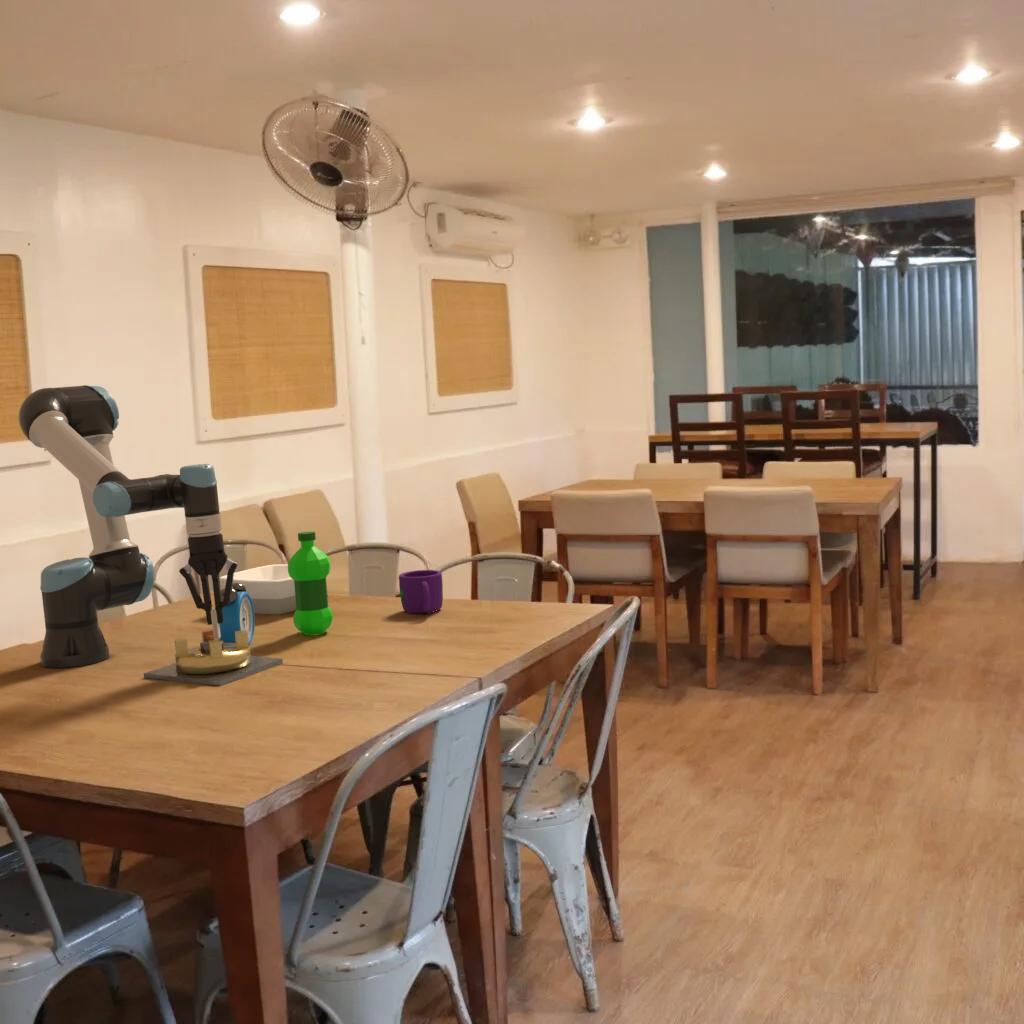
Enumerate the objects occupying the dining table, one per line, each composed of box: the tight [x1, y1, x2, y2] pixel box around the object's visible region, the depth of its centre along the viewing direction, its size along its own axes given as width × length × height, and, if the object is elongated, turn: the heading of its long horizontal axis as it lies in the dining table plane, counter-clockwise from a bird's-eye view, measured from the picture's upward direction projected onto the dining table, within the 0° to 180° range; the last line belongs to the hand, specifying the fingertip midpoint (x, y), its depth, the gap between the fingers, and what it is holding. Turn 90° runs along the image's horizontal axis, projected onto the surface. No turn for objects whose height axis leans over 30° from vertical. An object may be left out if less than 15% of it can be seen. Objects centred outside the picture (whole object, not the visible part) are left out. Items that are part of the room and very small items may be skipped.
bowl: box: [219, 563, 331, 615], centre depth 336 cm, size 24×25×10 cm
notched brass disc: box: [173, 628, 252, 674], centre depth 268 cm, size 16×16×6 cm
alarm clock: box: [216, 582, 256, 646], centre depth 290 cm, size 13×6×15 cm, turn 176°
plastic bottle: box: [287, 531, 334, 636], centre depth 300 cm, size 10×10×25 cm
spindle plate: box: [143, 655, 284, 687], centre depth 269 cm, size 22×20×1 cm
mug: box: [398, 569, 444, 615], centre depth 319 cm, size 17×11×10 cm, turn 12°
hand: (217, 638), depth 274 cm, fingers closed
